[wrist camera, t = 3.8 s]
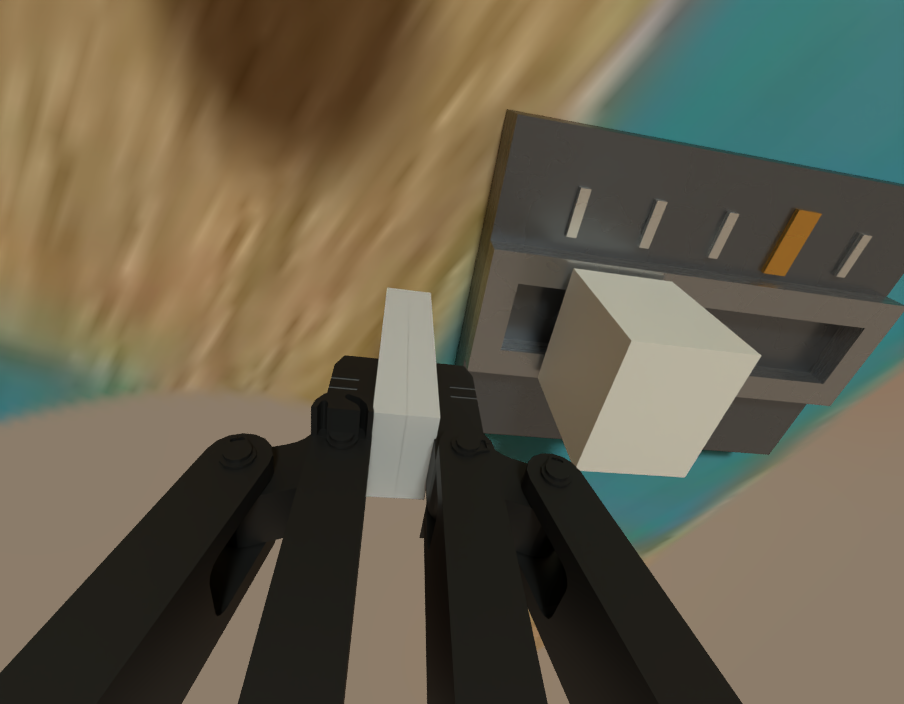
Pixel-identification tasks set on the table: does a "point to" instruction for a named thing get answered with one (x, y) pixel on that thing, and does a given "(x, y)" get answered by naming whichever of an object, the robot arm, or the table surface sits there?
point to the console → (681, 264)
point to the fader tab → (639, 374)
